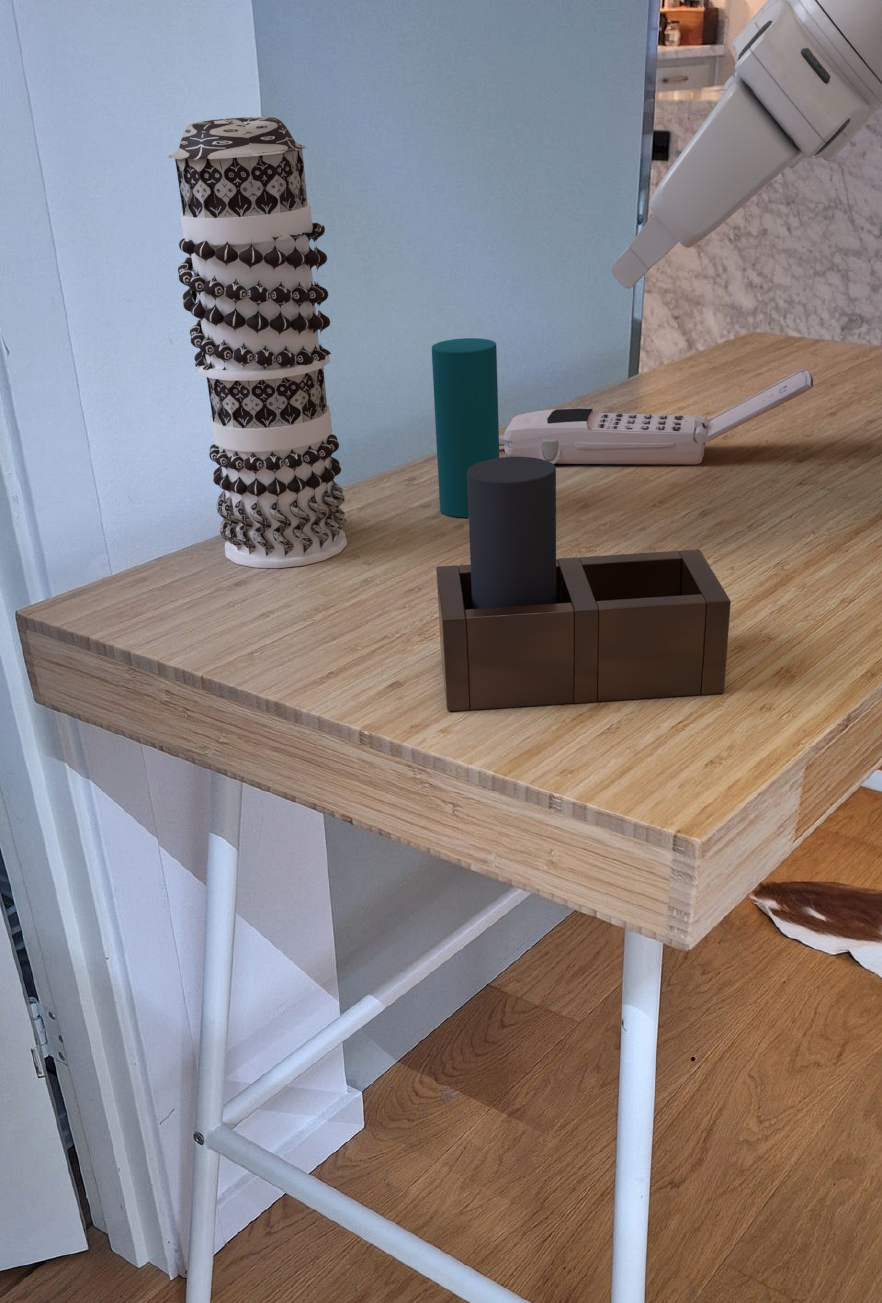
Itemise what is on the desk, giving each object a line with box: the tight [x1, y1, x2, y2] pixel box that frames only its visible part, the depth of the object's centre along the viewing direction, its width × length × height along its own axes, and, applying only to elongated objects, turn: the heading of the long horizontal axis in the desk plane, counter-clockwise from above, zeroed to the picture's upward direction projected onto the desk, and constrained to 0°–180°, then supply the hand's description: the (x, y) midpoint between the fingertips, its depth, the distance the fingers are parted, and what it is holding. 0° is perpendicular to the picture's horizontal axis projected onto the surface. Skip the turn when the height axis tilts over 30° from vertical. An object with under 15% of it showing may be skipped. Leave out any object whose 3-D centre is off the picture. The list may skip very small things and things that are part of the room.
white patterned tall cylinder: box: [168, 116, 348, 569], centre depth 85 cm, size 9×9×25 cm
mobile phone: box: [499, 368, 814, 465], centre depth 104 cm, size 6×6×25 cm
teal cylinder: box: [431, 337, 500, 519], centre depth 94 cm, size 4×4×11 cm
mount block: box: [435, 549, 732, 712], centre depth 72 cm, size 14×8×5 cm, turn 92°
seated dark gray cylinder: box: [467, 456, 557, 609], centre depth 70 cm, size 4×4×11 cm
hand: (630, 266), depth 87 cm, fingers open, 8 cm apart
